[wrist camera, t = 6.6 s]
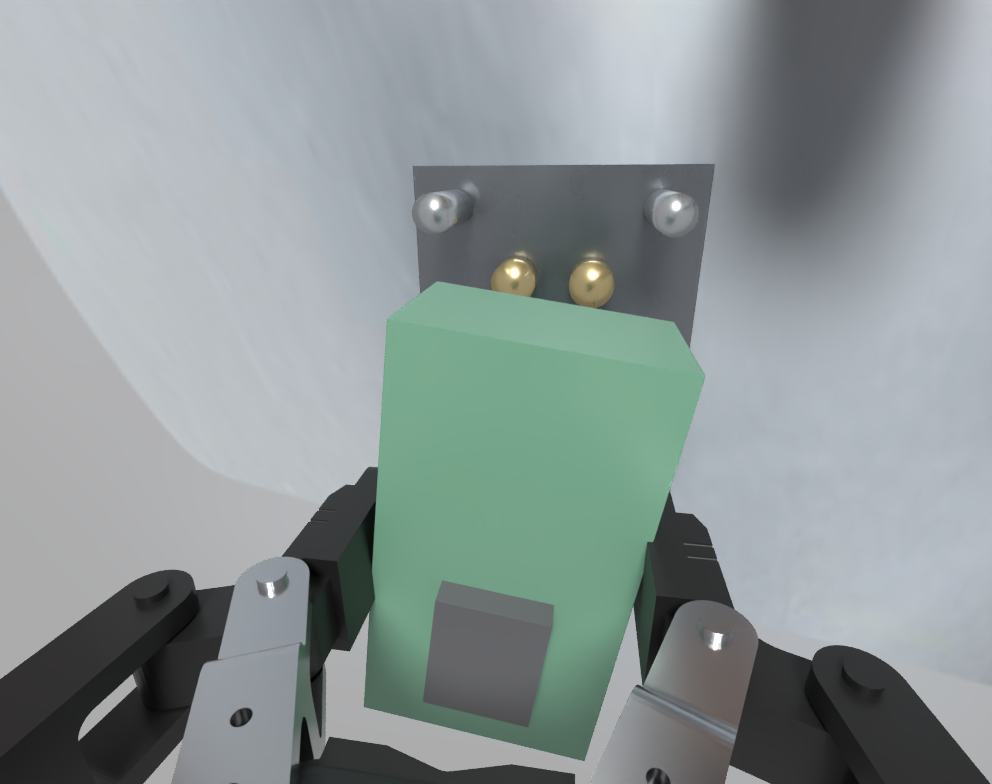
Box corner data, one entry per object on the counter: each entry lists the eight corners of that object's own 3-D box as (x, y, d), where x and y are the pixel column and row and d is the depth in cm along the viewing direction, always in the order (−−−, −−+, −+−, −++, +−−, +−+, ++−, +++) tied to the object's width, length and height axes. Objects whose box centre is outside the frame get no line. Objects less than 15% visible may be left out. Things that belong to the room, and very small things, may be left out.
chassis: (421, 166, 24) (378, 165, 19) (708, 164, 22) (741, 162, 17) (437, 482, 30) (409, 541, 25) (663, 500, 28) (679, 568, 23)
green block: (437, 281, 13) (375, 327, 9) (673, 321, 12) (713, 389, 8) (406, 603, 17) (354, 729, 13) (584, 643, 16) (584, 787, 12)
